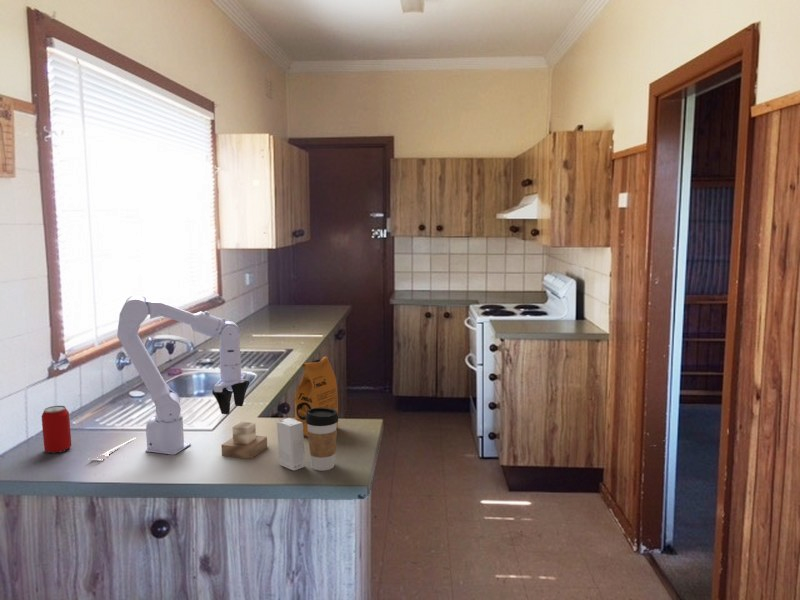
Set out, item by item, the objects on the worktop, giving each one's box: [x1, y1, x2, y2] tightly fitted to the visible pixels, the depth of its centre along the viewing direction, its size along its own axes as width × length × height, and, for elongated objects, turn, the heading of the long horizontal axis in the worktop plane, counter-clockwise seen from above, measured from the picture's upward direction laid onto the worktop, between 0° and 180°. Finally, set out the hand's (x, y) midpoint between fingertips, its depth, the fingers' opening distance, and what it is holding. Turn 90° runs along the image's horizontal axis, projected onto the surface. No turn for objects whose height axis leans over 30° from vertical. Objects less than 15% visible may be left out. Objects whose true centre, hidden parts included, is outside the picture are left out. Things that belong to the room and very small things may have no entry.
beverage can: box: [41, 405, 72, 453], centre depth 179 cm, size 7×7×12 cm
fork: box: [87, 437, 137, 462], centre depth 179 cm, size 3×20×2 cm, turn 169°
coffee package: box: [294, 356, 339, 438], centre depth 192 cm, size 10×12×22 cm
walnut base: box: [221, 435, 268, 460], centre depth 178 cm, size 9×9×3 cm
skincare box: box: [276, 417, 306, 472], centre depth 167 cm, size 6×4×12 cm
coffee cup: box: [306, 408, 339, 472], centre depth 167 cm, size 8×8×15 cm
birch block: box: [232, 421, 257, 444], centre depth 178 cm, size 4×4×4 cm
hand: (232, 409), depth 185 cm, fingers open, 7 cm apart
